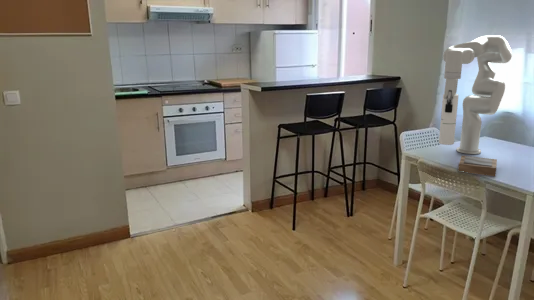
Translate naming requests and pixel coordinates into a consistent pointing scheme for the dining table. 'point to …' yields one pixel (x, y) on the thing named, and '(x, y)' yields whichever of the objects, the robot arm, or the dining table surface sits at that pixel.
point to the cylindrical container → (448, 122)
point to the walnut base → (478, 165)
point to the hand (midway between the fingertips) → (449, 110)
